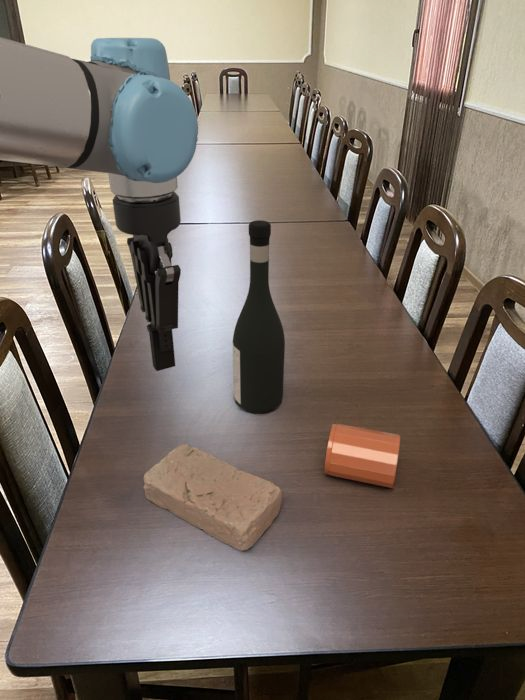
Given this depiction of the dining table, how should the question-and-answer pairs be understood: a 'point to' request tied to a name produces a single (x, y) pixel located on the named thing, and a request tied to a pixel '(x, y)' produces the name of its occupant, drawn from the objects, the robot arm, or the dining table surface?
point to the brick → (213, 495)
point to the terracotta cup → (362, 455)
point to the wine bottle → (258, 334)
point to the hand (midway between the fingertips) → (164, 365)
